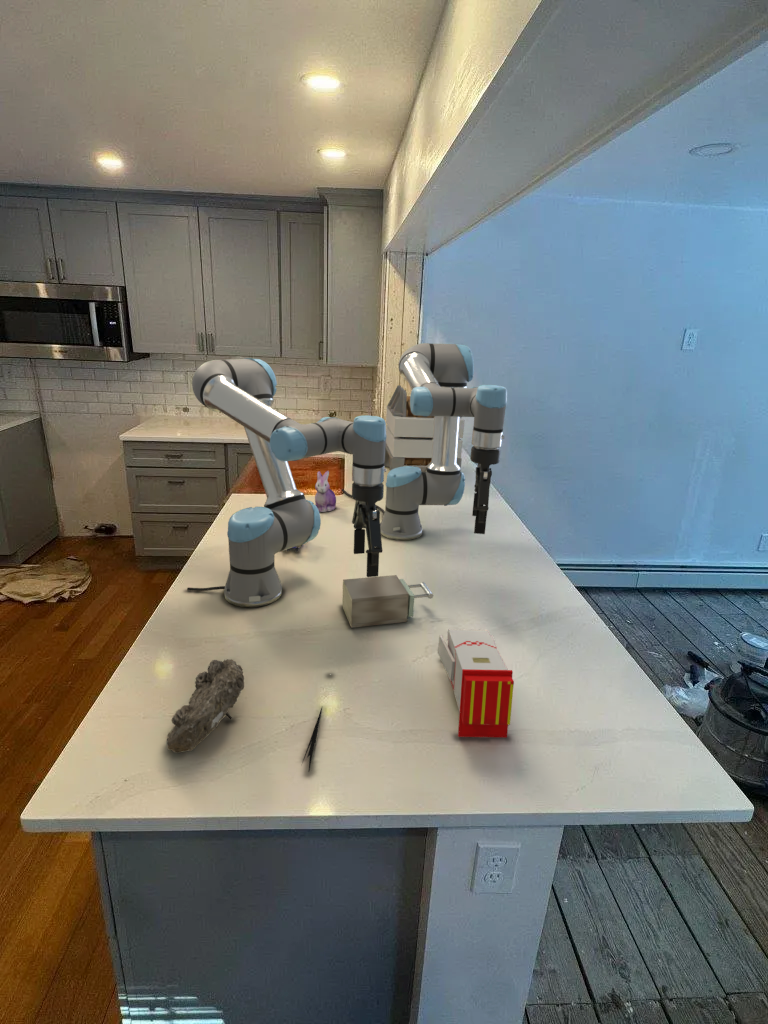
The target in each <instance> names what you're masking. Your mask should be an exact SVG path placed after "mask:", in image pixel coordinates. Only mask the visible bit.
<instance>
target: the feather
mask: <svg viewBox="0 0 768 1024" xmlns="http://www.w3.org/2000/svg"><path fill="white" fill-rule="evenodd" d="M329 675H330V676H331V675H332V674H331V673H330V674H329ZM322 710H323V707H321V708H320V710H319V713H318V716H317V719H316V723H315V725H314V728H313V731H312V733H311V737H310V739H309V742H308V745H307V748H306V751H305V754H304V757H303V760H302V763H301V767H302V765H303V763H304V761H305V758H308V759H309V760H308V762H307V763H308V764H307V766H308V771H310V770H311V766H312V765H311V764H312V760H313V757H315V756H314V755H315V751H316V749H315V746H317V739H318V733H319V729H320V722H321V717H322V712H323V711H322ZM313 754H314V755H313ZM306 755H307V757H306Z"/></svg>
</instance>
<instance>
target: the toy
mask: <svg viewBox="0 0 768 1024" xmlns="http://www.w3.org/2000/svg"><path fill="white" fill-rule="evenodd" d="M446 640H447V643H446V641H445V639H444V636H443V635H442V634H439V637H438V646H437V656H438V657H439V659H440V661H441V663H442V666H443V668H444V670H445V672H446V674H447V677H448V679H449V681H450V684H451V687H452V690H453V693H454V697H455V701H456V705H457V708H458V711H459V714H458V715H459V716H458V730H457V731H458V732H457V737H458V738H508V731H509V726H510V725H511V717H512V707H513V697H514V696H513V695H514V684H515V680H514V679H513V673H514V671H513V670H512V669H508V667H507V665H506V662H505V661H504V659H503V658H502V655H501V653H500V651H499V649H498V647H497V643H496V639H495V637H494V635H493V634H491V632H490V631H489V629H467V628H466V629H465V628H463V629H461V628H460V629H459V628H448V630H447V639H446Z"/></svg>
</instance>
